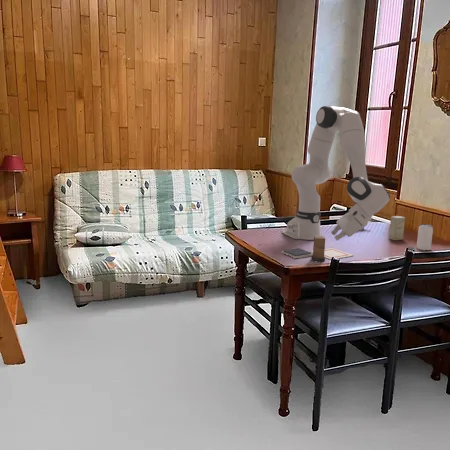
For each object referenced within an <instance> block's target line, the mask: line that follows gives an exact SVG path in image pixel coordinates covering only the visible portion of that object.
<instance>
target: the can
mask: <svg viewBox="0 0 450 450" xmlns="http://www.w3.org/2000/svg"><path fill="white" fill-rule="evenodd" d="M433 232H434V228H433V225H431V224H427V223H421V224H420V225H419V227H418V231H417V241H416V249H417V250H419V251H425V250H428V251H430V250H431V249H432V242H433V241H432V239H433Z"/></svg>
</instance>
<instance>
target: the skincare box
mask: <svg viewBox="0 0 450 450" xmlns="http://www.w3.org/2000/svg"><path fill="white" fill-rule="evenodd" d="M405 223H406V217H405V216H401V215H394V216H390V222H389V231H388V232H389V233H388V239H389V240H392V241H402V240H404V232H405Z"/></svg>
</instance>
